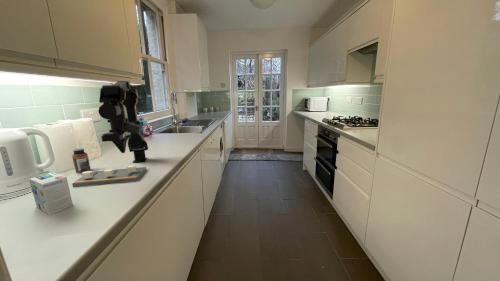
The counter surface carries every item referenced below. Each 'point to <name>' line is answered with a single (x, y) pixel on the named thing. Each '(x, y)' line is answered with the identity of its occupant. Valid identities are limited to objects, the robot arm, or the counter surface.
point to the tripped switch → (131, 169)
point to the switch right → (87, 174)
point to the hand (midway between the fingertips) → (123, 152)
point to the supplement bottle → (80, 160)
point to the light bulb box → (51, 192)
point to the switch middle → (108, 173)
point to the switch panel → (118, 176)
